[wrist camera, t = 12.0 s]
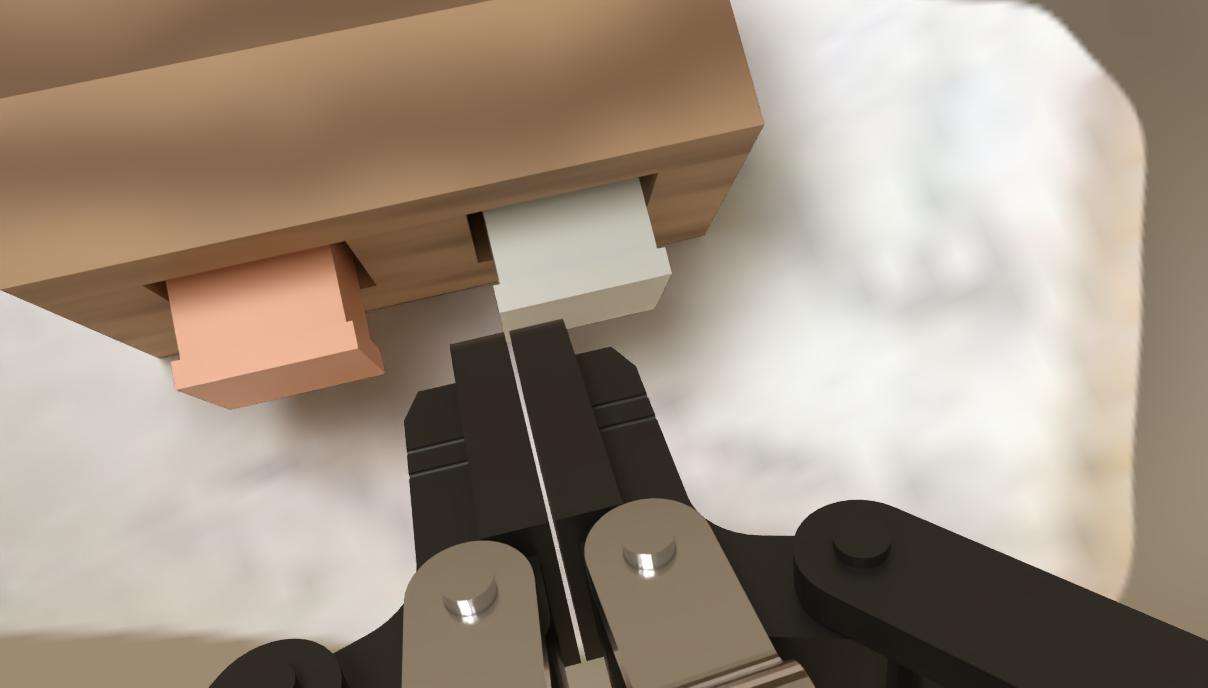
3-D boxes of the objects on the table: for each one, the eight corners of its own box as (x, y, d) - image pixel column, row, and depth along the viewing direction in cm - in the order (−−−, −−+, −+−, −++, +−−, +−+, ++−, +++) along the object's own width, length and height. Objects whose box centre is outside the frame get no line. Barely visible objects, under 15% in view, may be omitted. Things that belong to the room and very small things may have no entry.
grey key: (460, 148, 36) (447, 88, 31) (605, 117, 36) (614, 53, 31) (506, 343, 35) (499, 312, 30) (654, 308, 35) (672, 273, 30)
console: (110, 95, 39) (-58, -71, 28) (638, -12, 41) (671, -206, 30) (158, 357, 37) (-1, 289, 27) (704, 235, 39) (764, 124, 28)
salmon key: (191, 208, 35) (132, 156, 30) (343, 176, 35) (309, 119, 30) (229, 409, 34) (175, 390, 29) (385, 373, 34) (358, 348, 29)
